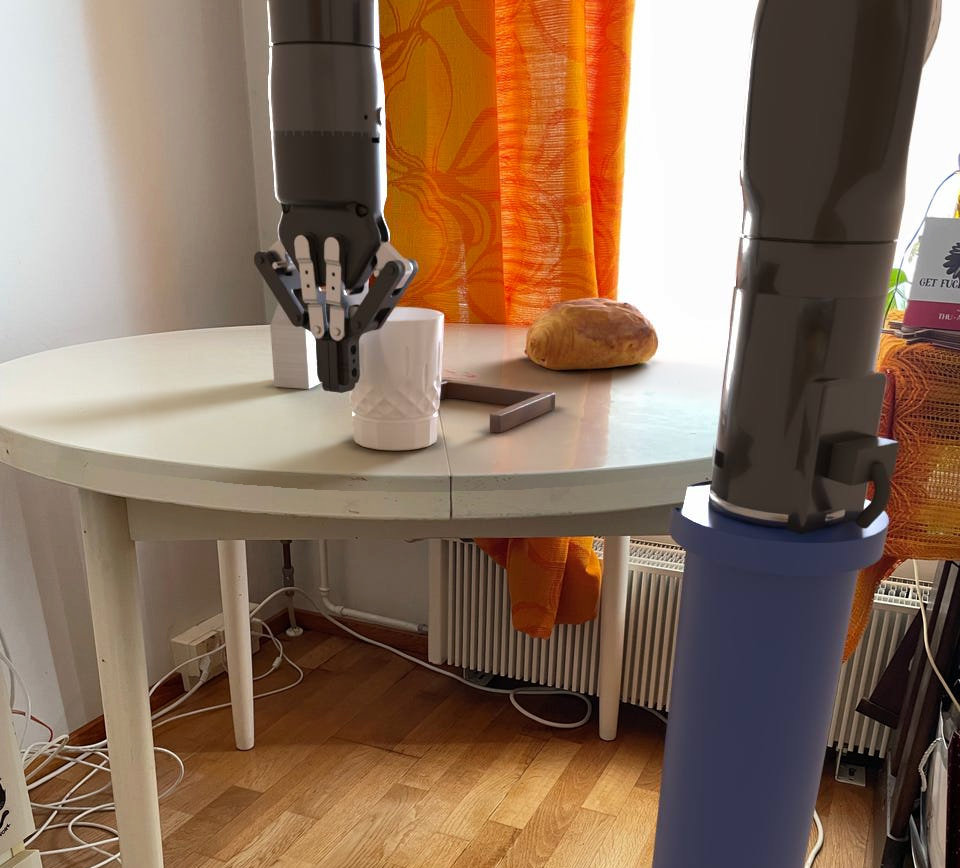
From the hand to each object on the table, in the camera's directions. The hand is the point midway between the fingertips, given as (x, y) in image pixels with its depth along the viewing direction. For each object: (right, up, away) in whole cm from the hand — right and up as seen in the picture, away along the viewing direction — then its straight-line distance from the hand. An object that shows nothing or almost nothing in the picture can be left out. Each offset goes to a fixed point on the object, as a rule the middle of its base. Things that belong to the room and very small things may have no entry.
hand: (339, 390), depth 75 cm
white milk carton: (-8, +8, +30) cm, 32 cm away
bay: (+9, +2, +18) cm, 20 cm away
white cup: (+3, -2, +8) cm, 9 cm away
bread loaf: (+23, +14, +43) cm, 50 cm away
